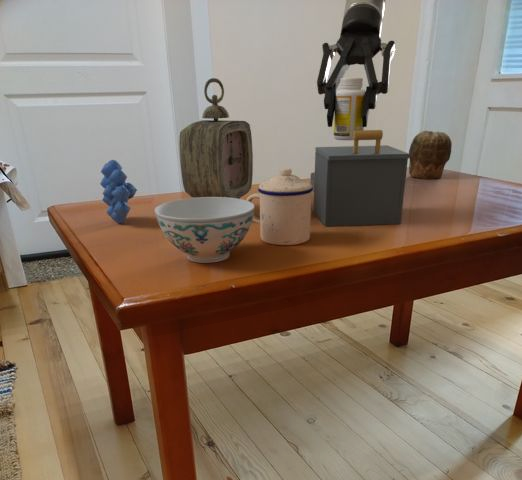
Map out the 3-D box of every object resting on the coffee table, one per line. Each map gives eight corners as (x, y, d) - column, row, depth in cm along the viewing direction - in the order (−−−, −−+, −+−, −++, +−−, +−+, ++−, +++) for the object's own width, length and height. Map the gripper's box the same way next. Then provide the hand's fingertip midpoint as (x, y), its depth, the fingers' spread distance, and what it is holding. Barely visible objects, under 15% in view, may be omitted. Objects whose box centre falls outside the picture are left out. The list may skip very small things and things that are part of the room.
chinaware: (231, 238, 89) (228, 193, 86) (272, 261, 77) (272, 210, 74) (148, 251, 83) (142, 203, 79) (180, 278, 71) (174, 224, 68)
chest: (400, 223, 96) (408, 158, 91) (324, 226, 95) (327, 160, 90) (381, 209, 108) (387, 149, 102) (313, 211, 107) (315, 151, 101)
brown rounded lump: (413, 181, 136) (418, 132, 131) (401, 174, 146) (406, 129, 141) (453, 180, 137) (460, 131, 131) (439, 173, 146) (445, 128, 141)
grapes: (150, 226, 98) (143, 160, 92) (116, 231, 95) (105, 163, 89) (132, 214, 107) (124, 154, 101) (99, 219, 104) (89, 156, 98)
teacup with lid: (318, 235, 90) (321, 166, 85) (299, 248, 83) (300, 174, 78) (258, 228, 95) (257, 162, 89) (235, 241, 88) (232, 170, 82)
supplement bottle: (360, 137, 98) (365, 77, 94) (364, 140, 93) (369, 77, 89) (332, 137, 99) (334, 78, 94) (334, 141, 94) (337, 78, 89)
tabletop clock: (221, 223, 98) (214, 77, 87) (182, 219, 102) (169, 78, 90) (253, 208, 110) (250, 77, 98) (217, 205, 113) (210, 78, 102)
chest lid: (409, 158, 90) (412, 130, 88) (328, 160, 89) (329, 132, 87) (387, 149, 102) (389, 124, 100) (315, 151, 101) (316, 126, 99)
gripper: (312, 6, 96) (293, 106, 90) (414, 1, 92) (401, 105, 86) (316, 40, 103) (298, 135, 97) (410, 37, 99) (398, 136, 93)
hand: (346, 121), depth 91 cm, fingers closed on supplement bottle, 6 cm apart
